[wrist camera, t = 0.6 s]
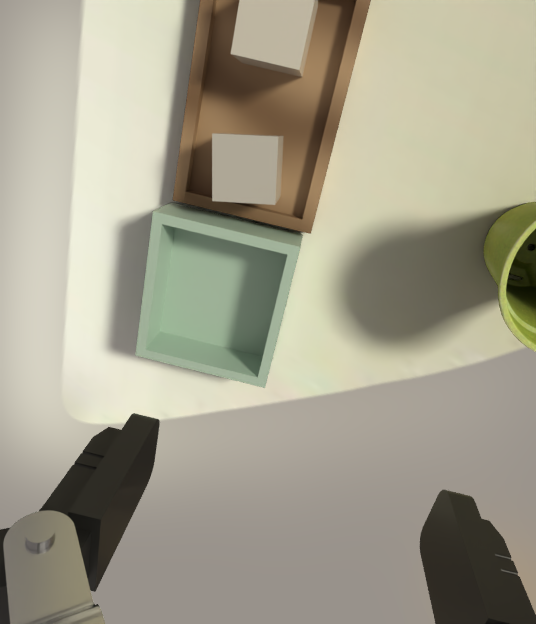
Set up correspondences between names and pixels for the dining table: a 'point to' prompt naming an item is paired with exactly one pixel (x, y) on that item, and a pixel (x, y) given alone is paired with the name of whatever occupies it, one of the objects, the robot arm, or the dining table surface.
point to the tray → (268, 109)
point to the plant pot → (515, 269)
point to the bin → (215, 292)
